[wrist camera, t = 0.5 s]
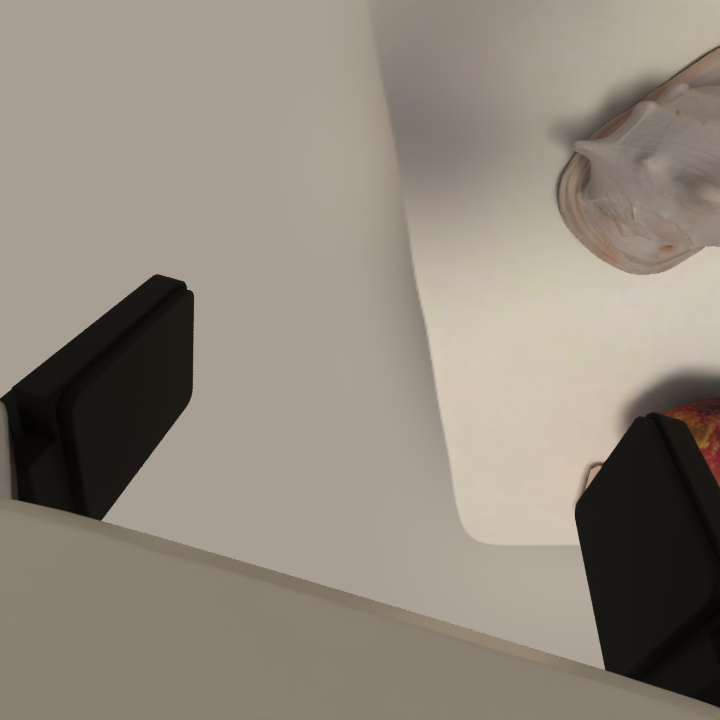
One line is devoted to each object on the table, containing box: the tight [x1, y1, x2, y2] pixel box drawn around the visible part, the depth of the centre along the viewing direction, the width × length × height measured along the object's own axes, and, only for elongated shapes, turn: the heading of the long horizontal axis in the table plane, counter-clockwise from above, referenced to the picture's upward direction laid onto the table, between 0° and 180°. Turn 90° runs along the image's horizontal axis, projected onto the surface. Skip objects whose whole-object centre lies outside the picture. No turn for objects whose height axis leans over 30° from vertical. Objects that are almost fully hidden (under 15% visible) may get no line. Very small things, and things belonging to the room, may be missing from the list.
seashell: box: [558, 48, 720, 275], centre depth 22 cm, size 10×12×9 cm
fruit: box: [664, 397, 720, 487], centre depth 30 cm, size 8×8×8 cm
